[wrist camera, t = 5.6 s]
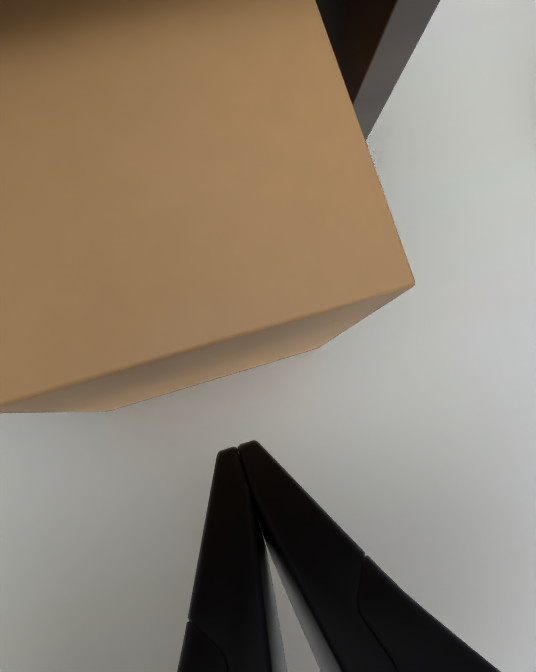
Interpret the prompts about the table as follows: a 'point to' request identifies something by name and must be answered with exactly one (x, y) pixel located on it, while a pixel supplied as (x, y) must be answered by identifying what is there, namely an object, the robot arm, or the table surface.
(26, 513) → the table surface
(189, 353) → the box
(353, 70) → the shelf
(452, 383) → the table surface
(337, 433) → the table surface
